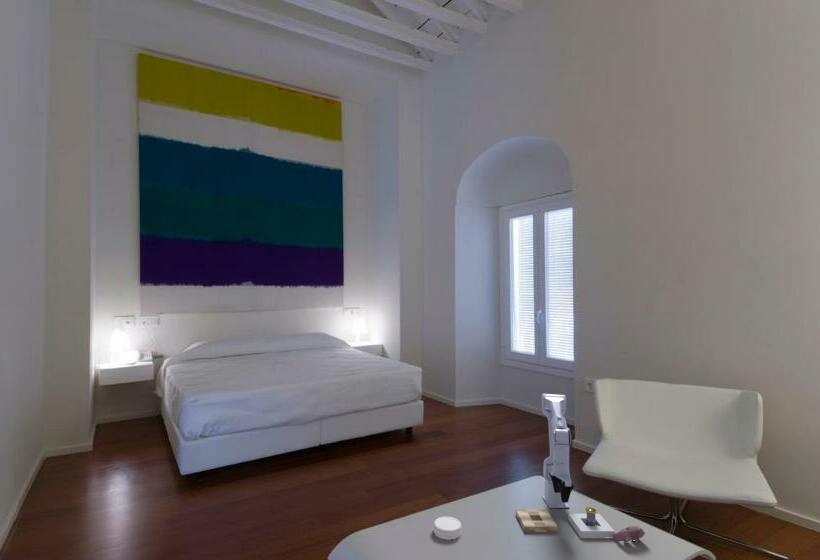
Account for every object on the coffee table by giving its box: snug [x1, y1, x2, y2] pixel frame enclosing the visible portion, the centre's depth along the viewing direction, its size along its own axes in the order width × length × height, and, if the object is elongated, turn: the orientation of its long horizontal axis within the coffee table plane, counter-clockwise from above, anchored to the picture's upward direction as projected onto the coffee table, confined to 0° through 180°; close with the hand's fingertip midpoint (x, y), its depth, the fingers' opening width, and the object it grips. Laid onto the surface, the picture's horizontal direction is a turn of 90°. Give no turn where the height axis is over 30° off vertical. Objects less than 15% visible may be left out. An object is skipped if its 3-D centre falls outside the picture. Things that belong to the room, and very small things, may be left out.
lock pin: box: [585, 506, 597, 526], centre depth 161 cm, size 4×4×7 cm
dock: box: [567, 513, 616, 539], centre depth 161 cm, size 12×12×2 cm
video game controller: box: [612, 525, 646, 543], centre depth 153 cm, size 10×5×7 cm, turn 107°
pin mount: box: [515, 509, 559, 533], centre depth 164 cm, size 12×12×2 cm
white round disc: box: [433, 516, 462, 541], centre depth 158 cm, size 10×10×4 cm
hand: (561, 497), depth 166 cm, fingers open, 7 cm apart
